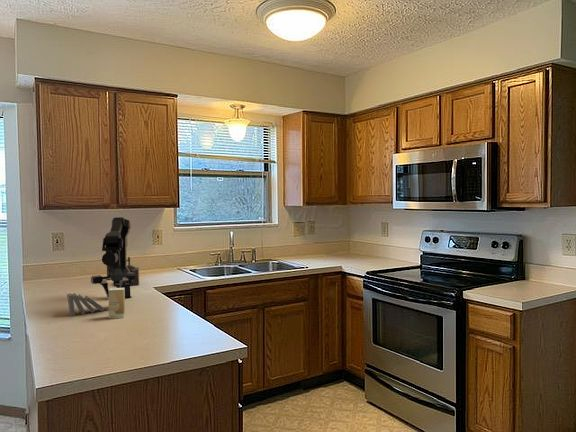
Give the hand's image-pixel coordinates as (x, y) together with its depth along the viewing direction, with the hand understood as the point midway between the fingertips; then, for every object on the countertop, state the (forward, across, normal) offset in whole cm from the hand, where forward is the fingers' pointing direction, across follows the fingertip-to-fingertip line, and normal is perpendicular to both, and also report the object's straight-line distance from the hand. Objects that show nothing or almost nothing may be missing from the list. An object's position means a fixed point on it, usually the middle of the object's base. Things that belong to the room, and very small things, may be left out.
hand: (114, 296), depth 204 cm
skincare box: (+6, -3, -16) cm, 17 cm away
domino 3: (+5, -9, 0) cm, 11 cm away
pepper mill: (+6, +19, +58) cm, 62 cm away
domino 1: (+6, -18, 0) cm, 19 cm away
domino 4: (+5, -5, 0) cm, 7 cm away
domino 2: (+6, -14, 0) cm, 15 cm away
